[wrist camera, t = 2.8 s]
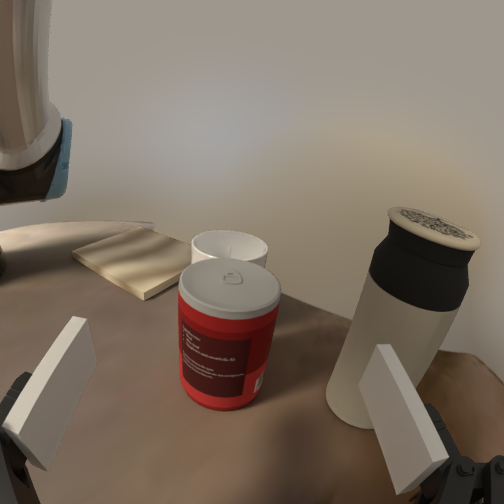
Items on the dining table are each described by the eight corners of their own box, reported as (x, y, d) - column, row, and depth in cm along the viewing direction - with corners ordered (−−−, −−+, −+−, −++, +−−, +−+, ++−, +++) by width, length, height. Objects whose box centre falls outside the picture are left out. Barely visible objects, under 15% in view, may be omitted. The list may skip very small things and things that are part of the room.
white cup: (254, 306, 39) (265, 234, 35) (256, 346, 32) (271, 264, 28) (193, 300, 39) (197, 226, 35) (183, 339, 32) (185, 255, 28)
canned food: (244, 348, 32) (257, 254, 27) (275, 403, 25) (302, 304, 21) (172, 357, 29) (170, 258, 24) (191, 420, 22) (190, 317, 18)
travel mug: (371, 445, 21) (476, 254, 14) (307, 396, 26) (366, 207, 19) (410, 399, 26) (489, 237, 19) (354, 362, 31) (408, 203, 24)
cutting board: (72, 257, 44) (71, 250, 44) (140, 232, 57) (140, 226, 57) (144, 300, 37) (143, 292, 37) (215, 260, 50) (215, 253, 50)
